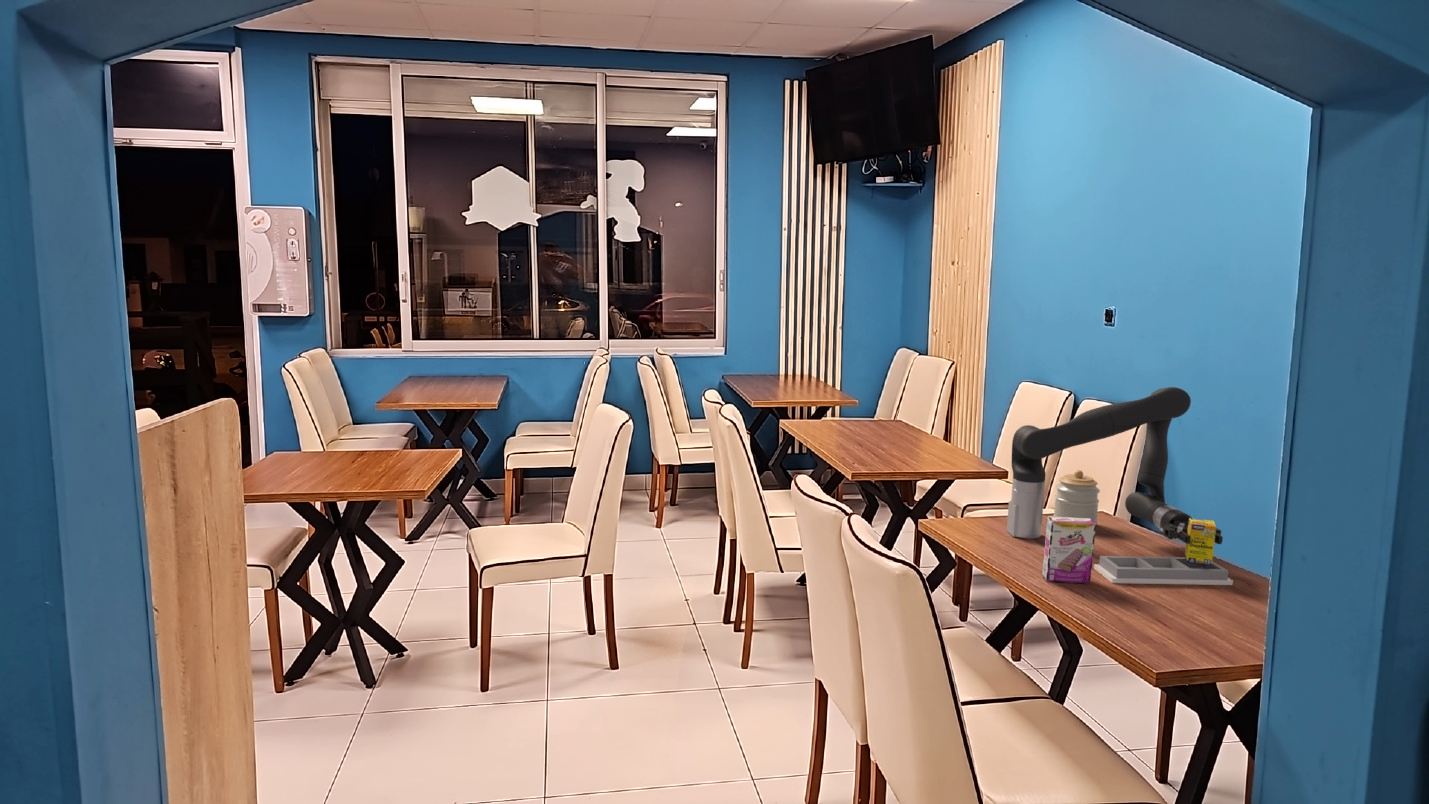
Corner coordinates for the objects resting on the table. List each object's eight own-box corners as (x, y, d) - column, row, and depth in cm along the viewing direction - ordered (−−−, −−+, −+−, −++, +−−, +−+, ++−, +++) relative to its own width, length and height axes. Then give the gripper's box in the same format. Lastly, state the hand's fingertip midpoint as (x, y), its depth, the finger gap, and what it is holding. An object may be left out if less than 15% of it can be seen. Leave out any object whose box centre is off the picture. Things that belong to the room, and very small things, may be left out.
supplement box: (1186, 563, 234) (1190, 523, 232) (1184, 556, 240) (1188, 517, 238) (1212, 566, 232) (1216, 526, 230) (1209, 559, 237) (1213, 520, 236)
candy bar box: (1046, 582, 230) (1051, 520, 228) (1041, 576, 235) (1046, 515, 233) (1091, 584, 229) (1096, 522, 227) (1085, 578, 234) (1090, 517, 232)
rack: (1112, 583, 231) (1113, 569, 230) (1093, 568, 242) (1094, 555, 241) (1232, 585, 231) (1234, 571, 230) (1208, 570, 242) (1210, 557, 241)
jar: (1092, 533, 275) (1097, 477, 272) (1048, 525, 282) (1053, 471, 279) (1099, 523, 286) (1104, 469, 283) (1057, 516, 292) (1061, 463, 290)
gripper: (1148, 508, 248) (1179, 526, 232) (1200, 509, 248) (1233, 526, 232) (1146, 534, 249) (1176, 553, 233) (1197, 535, 249) (1230, 554, 233)
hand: (1204, 540), depth 233 cm, fingers closed on supplement box, 7 cm apart
